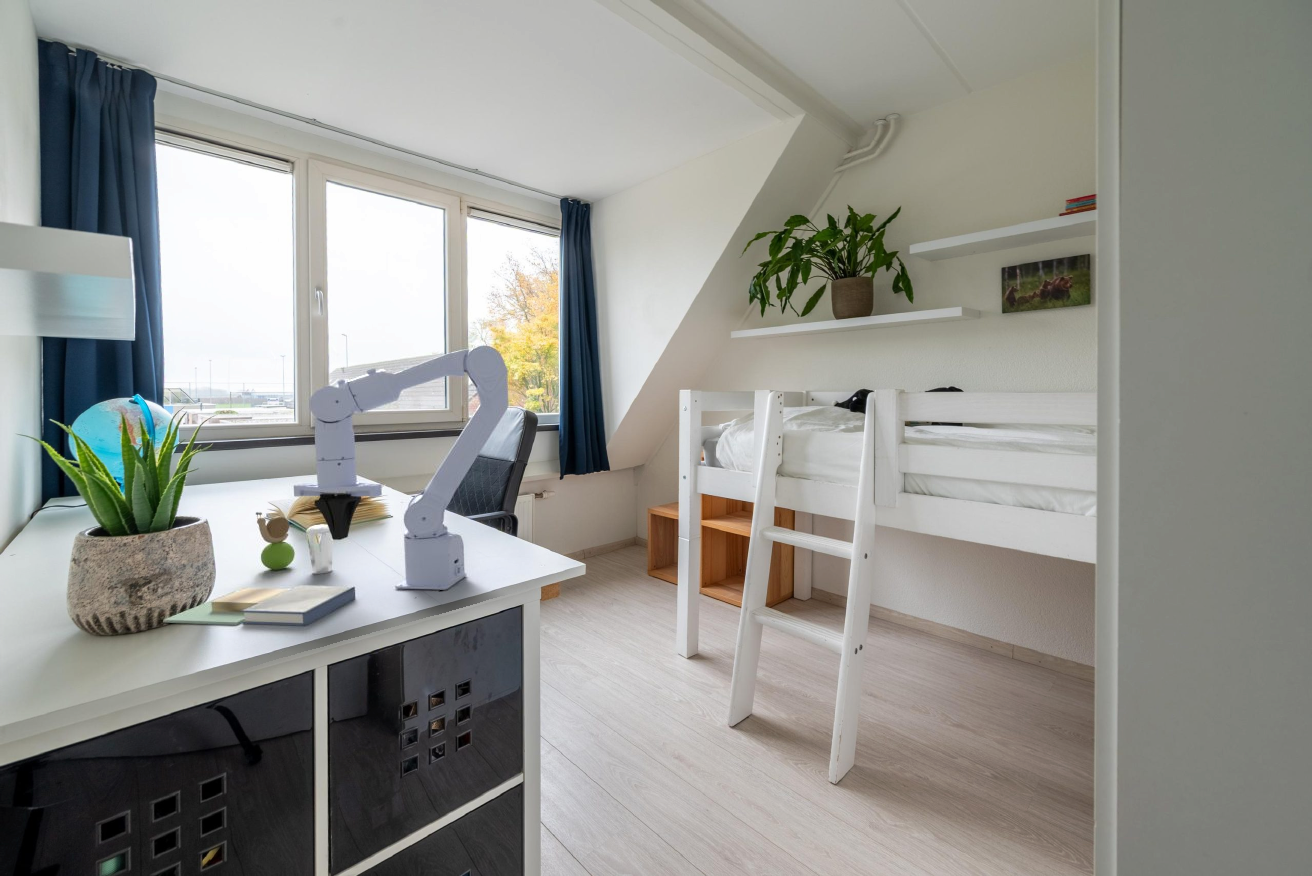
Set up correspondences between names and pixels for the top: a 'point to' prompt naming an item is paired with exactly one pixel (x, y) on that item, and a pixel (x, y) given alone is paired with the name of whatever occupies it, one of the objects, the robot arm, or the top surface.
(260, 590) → the tile
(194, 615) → the mat
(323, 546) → the milkshake
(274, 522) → the snail figurine
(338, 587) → the notebook
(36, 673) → the top surface
